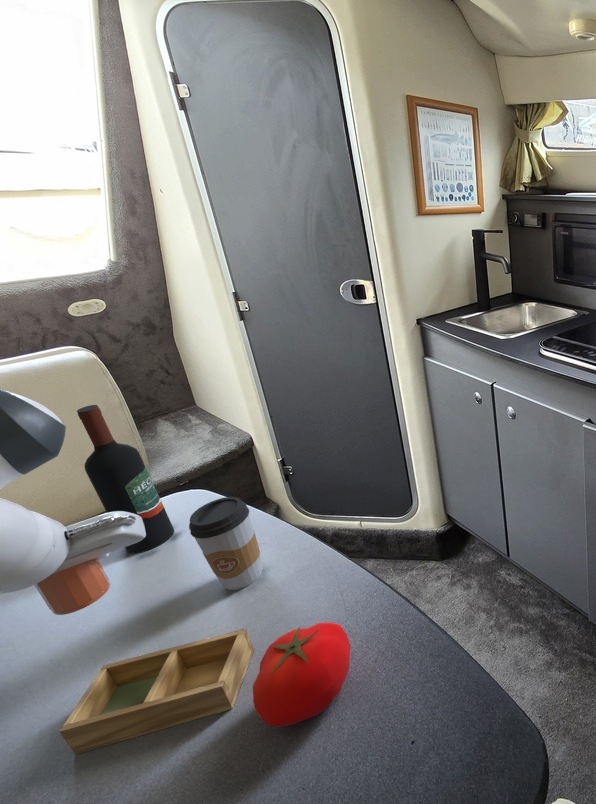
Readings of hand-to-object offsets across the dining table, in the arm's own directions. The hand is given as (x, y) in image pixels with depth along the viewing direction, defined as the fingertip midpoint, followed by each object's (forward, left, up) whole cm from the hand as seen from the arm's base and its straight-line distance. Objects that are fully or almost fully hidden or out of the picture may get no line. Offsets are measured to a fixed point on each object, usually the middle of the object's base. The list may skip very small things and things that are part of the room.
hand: (65, 566), depth 71 cm
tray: (+13, -12, -17) cm, 24 cm away
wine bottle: (-7, +28, -17) cm, 33 cm away
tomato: (+32, -18, -17) cm, 40 cm away
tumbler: (0, -1, -5) cm, 5 cm away
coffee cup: (+15, +10, -17) cm, 25 cm away
